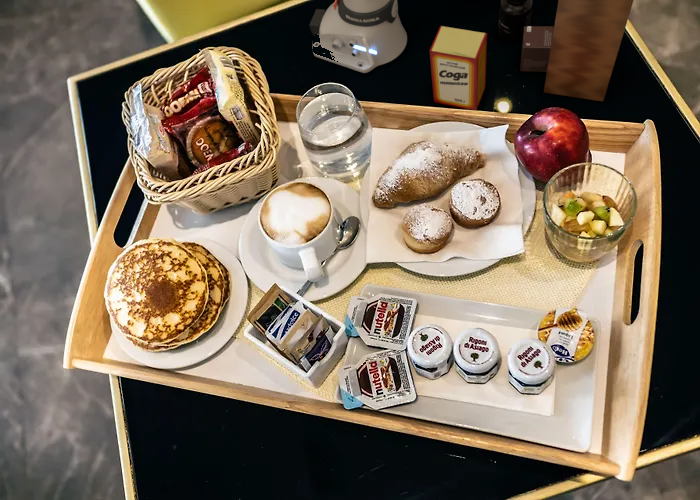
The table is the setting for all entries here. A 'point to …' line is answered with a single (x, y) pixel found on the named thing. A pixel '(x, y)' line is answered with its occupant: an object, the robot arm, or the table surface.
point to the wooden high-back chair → (585, 46)
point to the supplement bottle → (514, 19)
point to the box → (536, 48)
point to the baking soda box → (458, 67)
